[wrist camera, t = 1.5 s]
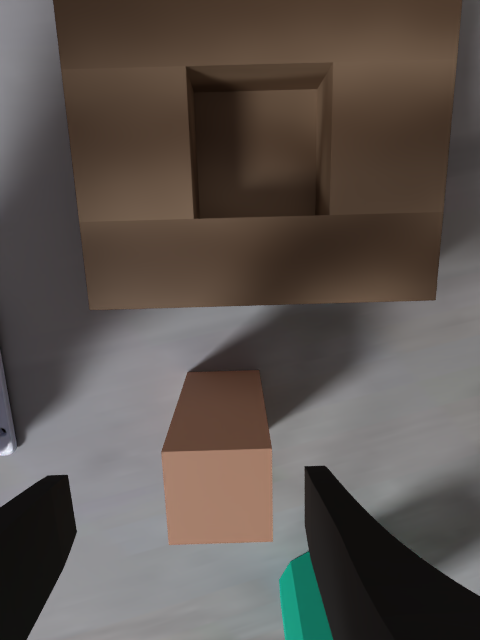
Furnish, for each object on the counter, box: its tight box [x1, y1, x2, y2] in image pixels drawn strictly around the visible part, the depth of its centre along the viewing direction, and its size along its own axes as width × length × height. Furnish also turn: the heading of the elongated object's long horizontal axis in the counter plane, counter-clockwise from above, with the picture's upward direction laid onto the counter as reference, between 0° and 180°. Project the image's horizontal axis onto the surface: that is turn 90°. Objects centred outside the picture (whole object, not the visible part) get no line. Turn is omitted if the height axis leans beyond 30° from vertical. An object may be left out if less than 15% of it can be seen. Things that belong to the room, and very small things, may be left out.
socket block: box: [53, 0, 462, 310], centre depth 18 cm, size 13×15×4 cm
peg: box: [161, 370, 273, 545], centre depth 19 cm, size 4×4×8 cm
